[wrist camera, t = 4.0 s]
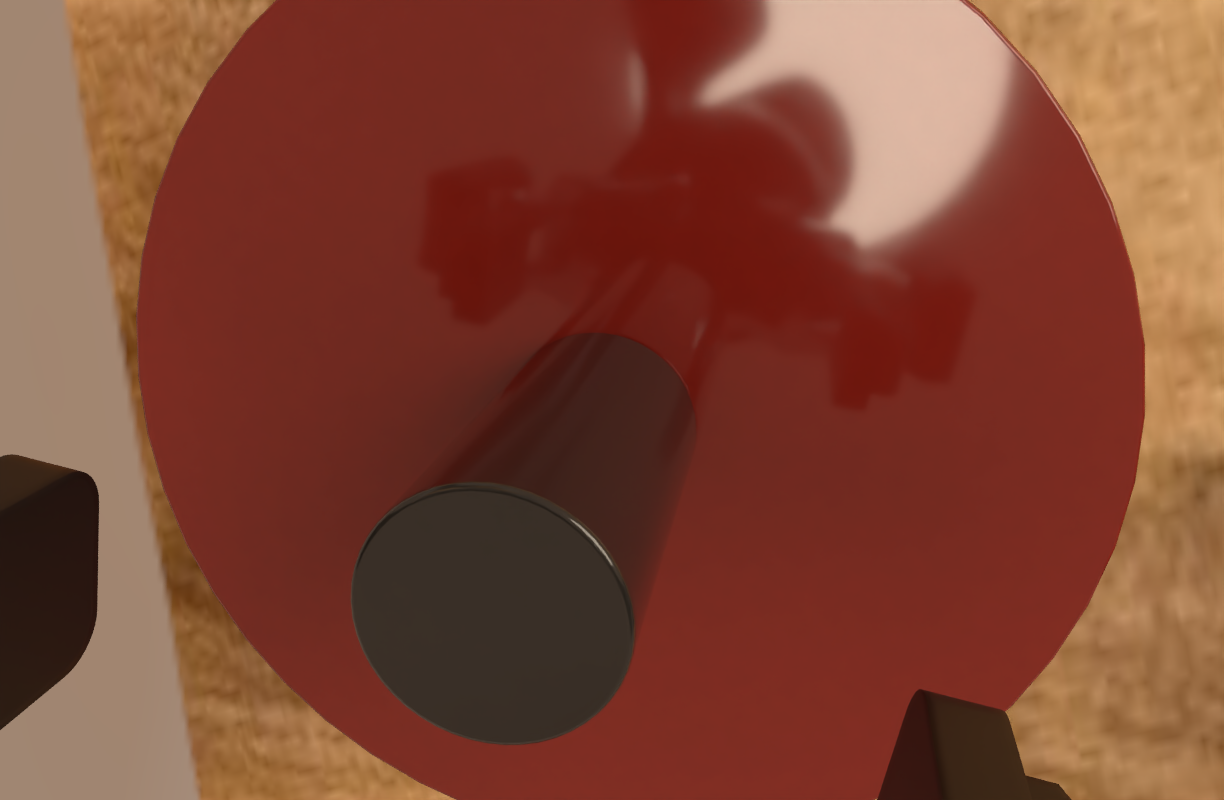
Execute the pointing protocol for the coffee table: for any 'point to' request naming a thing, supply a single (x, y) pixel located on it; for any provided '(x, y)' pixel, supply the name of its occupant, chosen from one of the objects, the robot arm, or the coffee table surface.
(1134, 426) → the lid
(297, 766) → the coffee table surface
